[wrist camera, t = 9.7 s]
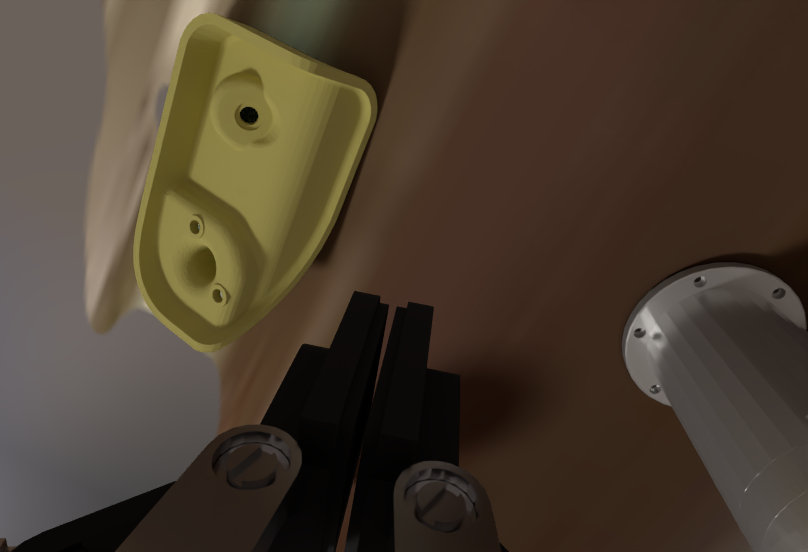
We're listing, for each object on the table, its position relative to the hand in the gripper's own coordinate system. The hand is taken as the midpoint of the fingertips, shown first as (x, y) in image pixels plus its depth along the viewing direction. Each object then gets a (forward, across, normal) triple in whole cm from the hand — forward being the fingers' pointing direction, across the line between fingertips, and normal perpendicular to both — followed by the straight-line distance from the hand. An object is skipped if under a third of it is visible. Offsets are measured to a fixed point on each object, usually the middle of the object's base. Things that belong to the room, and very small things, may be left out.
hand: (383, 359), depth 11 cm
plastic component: (+27, +13, +6) cm, 31 cm away
